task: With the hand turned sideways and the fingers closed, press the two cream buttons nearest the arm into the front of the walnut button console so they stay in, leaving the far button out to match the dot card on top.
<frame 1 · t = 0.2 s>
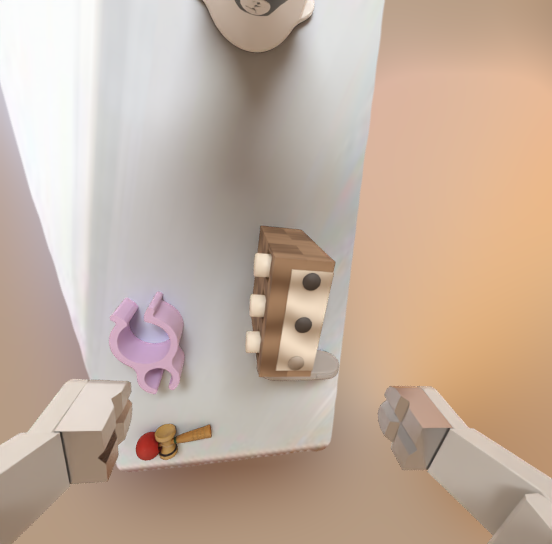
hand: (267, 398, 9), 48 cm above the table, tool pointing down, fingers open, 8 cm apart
kendama: (176, 429, 72), on the table
game controller: (294, 352, 68), on the table
clip: (157, 333, 61), on the table
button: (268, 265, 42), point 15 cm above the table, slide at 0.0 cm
button middle: (262, 305, 45), point 15 cm above the table, slide at 0.0 cm
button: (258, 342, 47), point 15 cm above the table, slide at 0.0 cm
console: (273, 273, 59), on the table
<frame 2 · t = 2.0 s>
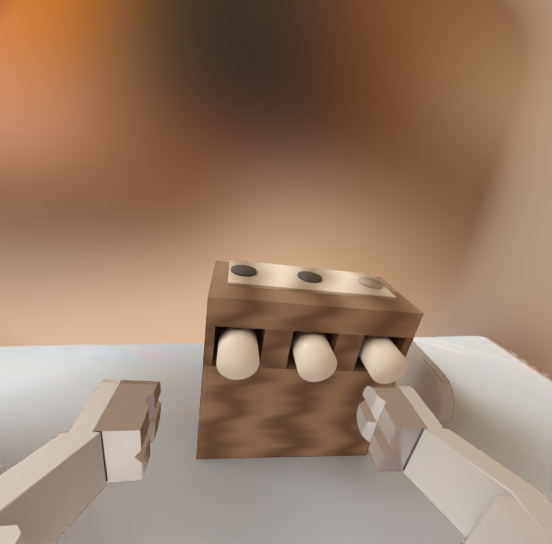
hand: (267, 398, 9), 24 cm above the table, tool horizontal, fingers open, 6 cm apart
game controller: (395, 384, 46), on the table
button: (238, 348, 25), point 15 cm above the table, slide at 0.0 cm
button middle: (311, 351, 26), point 15 cm above the table, slide at 0.0 cm
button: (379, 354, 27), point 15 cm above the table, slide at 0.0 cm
console: (280, 425, 35), on the table
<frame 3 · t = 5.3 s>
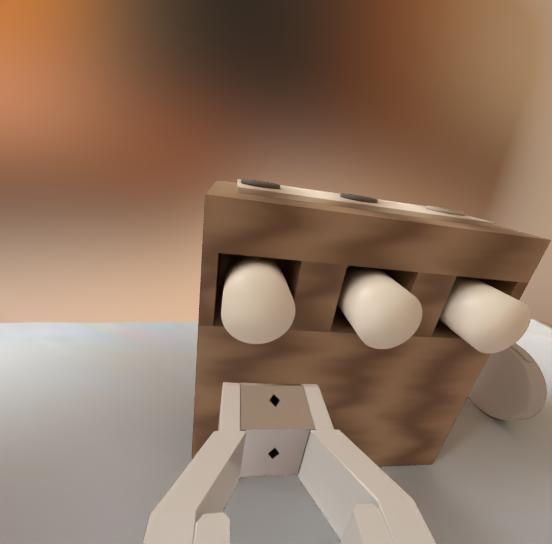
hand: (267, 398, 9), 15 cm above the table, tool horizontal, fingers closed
game controller: (445, 370, 37), on the table
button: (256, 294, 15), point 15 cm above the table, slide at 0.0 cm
button middle: (372, 302, 16), point 15 cm above the table, slide at 0.0 cm
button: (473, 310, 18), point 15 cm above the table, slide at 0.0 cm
console: (309, 423, 25), on the table
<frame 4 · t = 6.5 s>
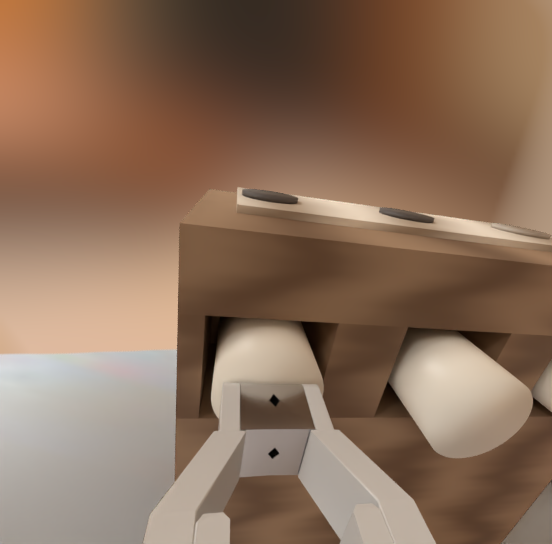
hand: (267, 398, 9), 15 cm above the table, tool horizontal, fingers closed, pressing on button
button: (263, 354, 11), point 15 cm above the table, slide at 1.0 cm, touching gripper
button middle: (440, 377, 11), point 15 cm above the table, slide at 0.0 cm
console: (327, 496, 20), on the table
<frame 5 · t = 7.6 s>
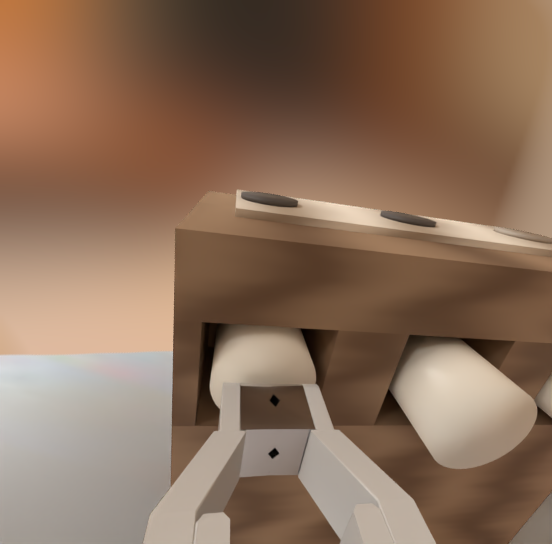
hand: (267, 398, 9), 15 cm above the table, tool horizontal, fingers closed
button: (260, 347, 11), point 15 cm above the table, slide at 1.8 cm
button middle: (441, 385, 11), point 15 cm above the table, slide at 0.0 cm
console: (326, 502, 20), on the table
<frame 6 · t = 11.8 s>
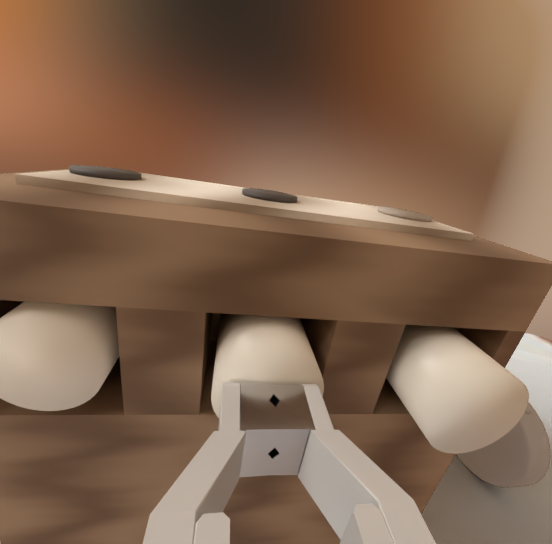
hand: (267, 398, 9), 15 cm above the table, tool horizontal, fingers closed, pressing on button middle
game controller: (425, 407, 30), on the table
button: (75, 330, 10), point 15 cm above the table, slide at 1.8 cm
button middle: (263, 354, 11), point 15 cm above the table, slide at 0.8 cm, touching gripper
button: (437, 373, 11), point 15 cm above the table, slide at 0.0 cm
console: (231, 499, 19), on the table
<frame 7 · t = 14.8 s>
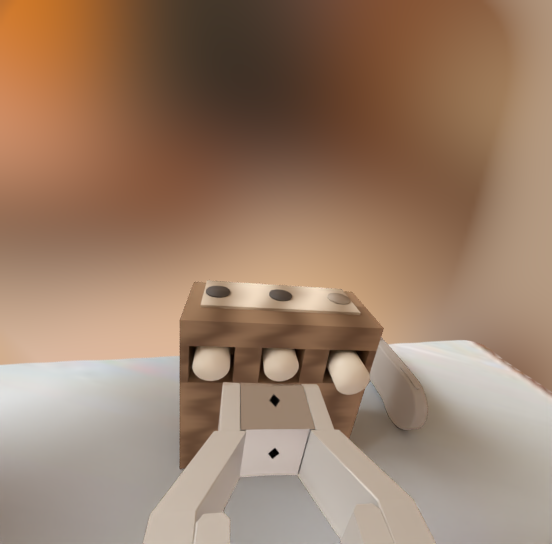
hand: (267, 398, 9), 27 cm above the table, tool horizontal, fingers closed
game controller: (377, 391, 48), on the table
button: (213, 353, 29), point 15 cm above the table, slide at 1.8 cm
button middle: (278, 354, 30), point 15 cm above the table, slide at 1.8 cm
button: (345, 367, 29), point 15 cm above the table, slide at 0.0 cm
console: (262, 434, 37), on the table
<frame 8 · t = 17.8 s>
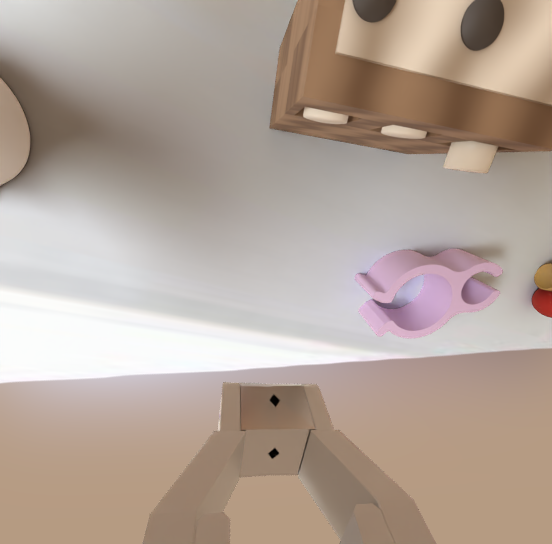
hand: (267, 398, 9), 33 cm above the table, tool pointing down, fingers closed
clip: (410, 279, 47), on the table
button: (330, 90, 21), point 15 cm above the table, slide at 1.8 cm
button middle: (410, 108, 23), point 15 cm above the table, slide at 1.8 cm
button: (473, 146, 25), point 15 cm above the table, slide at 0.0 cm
console: (349, 108, 36), on the table
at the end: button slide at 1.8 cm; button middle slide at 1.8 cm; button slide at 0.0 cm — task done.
